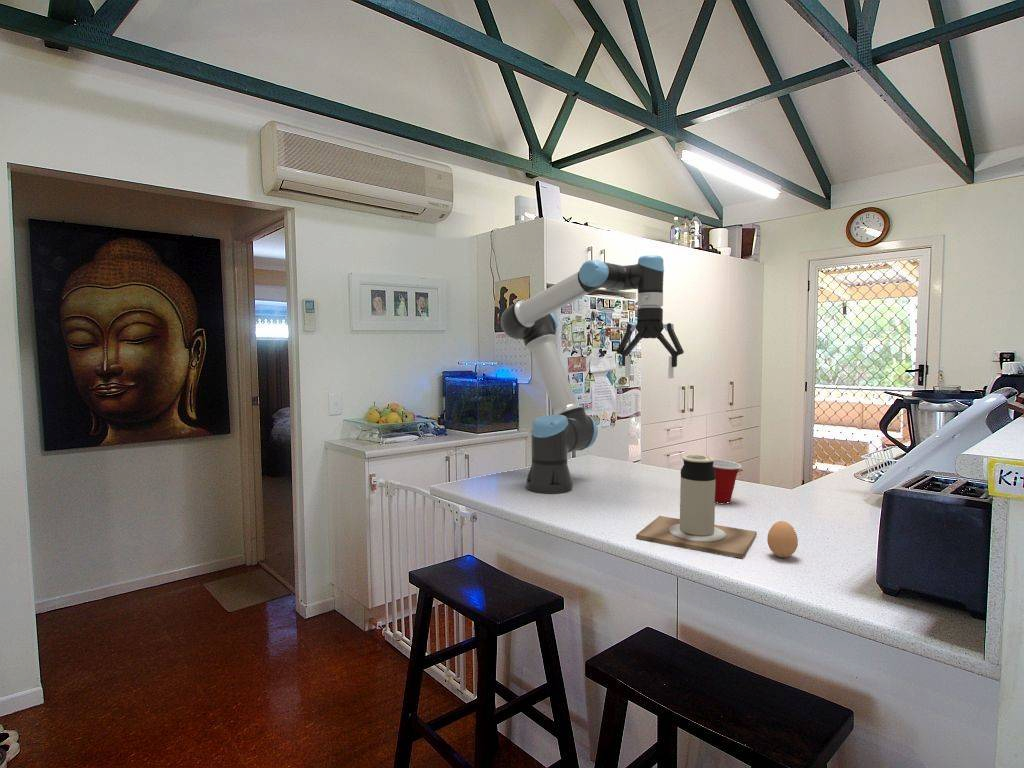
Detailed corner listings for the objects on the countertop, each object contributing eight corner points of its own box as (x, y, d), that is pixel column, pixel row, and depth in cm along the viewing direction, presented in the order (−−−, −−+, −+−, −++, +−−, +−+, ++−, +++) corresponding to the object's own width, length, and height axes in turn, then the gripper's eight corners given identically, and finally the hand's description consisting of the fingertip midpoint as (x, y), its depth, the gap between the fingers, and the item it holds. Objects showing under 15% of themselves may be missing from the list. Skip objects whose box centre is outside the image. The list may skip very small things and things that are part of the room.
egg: (783, 563, 119) (784, 527, 118) (760, 554, 124) (761, 519, 124) (803, 559, 121) (804, 523, 121) (780, 550, 127) (781, 515, 126)
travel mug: (678, 534, 133) (680, 459, 132) (680, 524, 140) (681, 453, 139) (714, 538, 130) (716, 461, 129) (714, 528, 138) (715, 455, 137)
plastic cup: (734, 509, 159) (735, 467, 158) (696, 502, 166) (697, 462, 165) (744, 500, 168) (745, 461, 167) (708, 495, 174) (709, 457, 174)
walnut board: (636, 538, 134) (636, 532, 134) (659, 519, 149) (659, 514, 149) (742, 558, 121) (743, 552, 121) (756, 535, 136) (756, 529, 136)
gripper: (606, 308, 173) (605, 376, 175) (688, 305, 160) (686, 379, 161) (616, 309, 180) (615, 375, 181) (695, 306, 166) (693, 378, 168)
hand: (648, 377), depth 171 cm, fingers open, 13 cm apart
